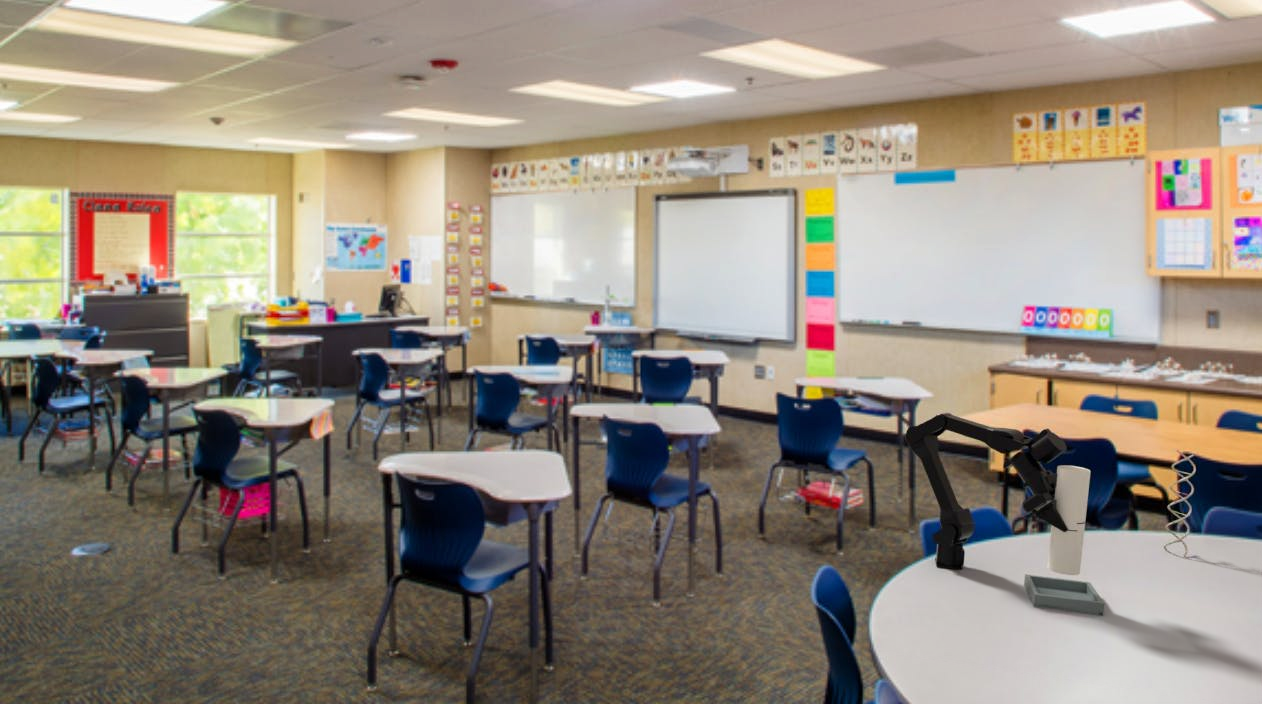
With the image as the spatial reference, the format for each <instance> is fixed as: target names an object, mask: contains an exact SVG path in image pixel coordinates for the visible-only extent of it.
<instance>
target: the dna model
mask: <svg viewBox="0 0 1262 704" xmlns="http://www.w3.org/2000/svg"><path fill="white" fill-rule="evenodd" d="M1176 452H1177V453H1179V454H1180V455H1181V456H1182V457H1183V459H1180V460H1178V461H1176V462H1173V463H1172V464H1171V469H1172V471H1174V472H1175V473H1176V474H1177V476H1180V477H1181V479H1179V480H1177V481H1175V482H1172V483H1171V484H1170V485H1169V490H1170V491H1171V492H1173V493H1174V494H1175V496H1177V497H1179V498H1180V499H1178V500H1174V501H1173V502H1171V503H1169V504H1168V505H1167V509H1168V511H1169V512H1171V513H1172V514H1173V515H1174V516H1176V517H1177V518H1178V519H1176V520H1172V522H1168V523H1167V524H1166V525H1165V529H1166V530H1167V531H1168V532H1169V533H1170V534H1171V535H1172V536H1174V537H1175V538H1176V540H1172V541H1170V542H1168V543H1164V545H1163V549H1164V550H1165V551H1166V550H1167V551H1168V548H1167V547H1168V546H1170V545H1172V544H1176V543H1180V542H1181V543H1182V545H1183V547H1184V550H1185V551H1184V554H1183V555H1182V556H1183V557H1186V555H1188V546H1187V543H1186V542H1184V541H1183V540H1184V539H1185V538H1187V537H1188V535H1189V534H1190V532H1191V531H1190V526H1189V524H1188V522H1187V521H1185V520H1186V518H1188V517H1190V515H1191V514H1192V512H1193V511H1192V510H1193V509H1192V507H1193V506H1192V505H1191V503H1189V502H1188V500H1187V499H1189V497H1192V495H1193V494H1194V492H1195V488H1194V485H1193V484H1192V483H1191V481H1189V479H1190V478H1191V477H1193V476H1194V475H1195V474H1196V471H1197V469H1196V468H1197V467H1196V464H1194V462H1193V461H1192V460H1191V458H1193V457H1194V456H1195V454H1194V453H1193V454H1191V455H1189V456H1186V455H1185V454H1184V453H1182V452H1181V451H1179V450H1178V449H1177V450H1176ZM1185 461H1186V462H1187V461H1188V462H1189V463H1190V464H1191V466H1192V467H1193V471H1192V472H1191V473H1189V472H1185V471H1181V470H1178V469H1176V468H1175V466H1176V465H1178V464H1180V463H1182V462H1185ZM1182 474H1186V476H1184V475H1182ZM1182 482H1186V483H1188V484H1189V485H1190V487H1191V492H1190V493H1189V494H1188V493H1185V492H1182V495H1185V496H1184V497H1183V496H1182V495H1180V494H1181V492H1180V491H1177V490H1175V489H1173V486H1174V485H1176V484H1178V483H1179V484H1180V483H1182ZM1180 502H1184V503H1186V504H1187V505H1188V507H1189V511H1188V513H1187V514H1186V513H1185V514H1184V513H1180V512H1178V511H1176V510H1173V509H1171V506H1173V505H1176V504H1178V503H1180ZM1178 514H1179V515H1178ZM1180 515H1183V517H1182V516H1180ZM1179 522H1182V523H1183V524H1184V525H1185V526H1186V528H1187V529H1186V533H1185V535H1183V534H1181V533H1177V532H1175V531H1173V530H1170V528H1169V526H1171V525H1174V524H1176V523H1179ZM1178 535H1179V536H1181V537H1179V536H1178Z"/></svg>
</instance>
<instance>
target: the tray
mask: <svg viewBox="0 0 1262 704" xmlns="http://www.w3.org/2000/svg"><path fill="white" fill-rule="evenodd" d="M1023 586H1024V589H1025V591H1026V593H1027V596H1028V595H1029V596H1028V598H1029V600H1030V602H1031V604H1032V606H1033V608H1041V609H1049V610H1054V611H1064V612H1070V613H1076V614H1077V613H1080V614H1086V615H1087V614H1088V615H1093V616H1100V617H1101V616H1102V617H1104V615H1105V614H1104V613H1105V602H1104V601H1103V599H1102V598H1101V596H1100V595H1099V593H1098V592H1097V590H1096V589H1095V588H1094V586H1093V584H1092V583H1091V582H1089V581H1082V580H1075V579H1066V578H1059V577H1058V578H1057V577H1052V576H1051V577H1050V576H1042V575H1035V574H1034V575H1033V574H1028V573H1027V574H1026V573H1025V574H1024V581H1023Z"/></svg>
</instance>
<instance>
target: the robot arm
mask: <svg viewBox="0 0 1262 704" xmlns="http://www.w3.org/2000/svg"><path fill="white" fill-rule="evenodd" d="M946 431H948V432H953V433H956V434H958V435H961V436H965V437H967V438H971V439H974V440H976V441H980V442H982V443H983V444H985V445H987V446H988V447H989V448H990V449H992V450H994V451H996V452H997V453H999V454H1003V455H1006V454H1011V453H1015V454H1014V455H1012V456H1006V457H1005V456H1004V462H1003V468H1004V469H1009V468H1012V467H1013V469H1014V470H1015V472H1016V473H1017V474H1018V475H1019V477H1020V478H1021V480H1022V482H1023V483H1022V484H1021V485H1022V486H1023V488H1024V489H1025V488H1026V489H1027V488H1028V489H1029V491H1030V493H1032V495H1031V496H1030V497H1029V498H1027V499H1026V500H1024V501H1022V506H1021V507H1022V509H1023V510H1024V512H1025V513H1026V515H1028V514H1032V515H1033V516H1036V517H1038V518H1039V519H1041V520H1042V521H1045V522H1046V523H1048V524H1050V525H1053V526H1055V527H1056V528H1058V529H1060V530H1061V531H1063V532H1066V531H1068V528H1067V526H1066V524H1065V523H1064V521H1063V519H1062V518H1061V516H1060V514H1059V513H1058V511H1057V509H1056V505H1057V500H1054V496H1055V487H1056V485H1057V475H1058V474H1057V473H1053V471H1052V470H1050V469H1047V470H1046V468H1044V467H1043V465H1042V464H1041V463H1043V464H1049V463H1050V462H1053V460H1054V459H1056V458H1057V457H1059V456H1061V455H1062V454H1063V453H1064V452H1066V451H1067V450H1068V449H1067V445H1066V443H1065V441H1064V440H1063V439H1062V438H1061V437H1059V435H1057V434H1056V433H1054V432H1052V431H1051V430H1050V429H1049V428H1045V429H1043V430H1041V431H1040V432H1039V434H1037V435H1036V436H1035V437H1033V438H1032V437H1029V436H1026V435H1024V434H1023V432H1022V431H1020V430H1019V429H1015V428H1006V427H993V426H988V425H985V424H982V423H980V422H979V423H978V422H976V421H973V420H970V419H967V418H963V417H960V416H957V415H953V414H951V413H950V412H944V413H938V414H936V415H935V416H934V417H931V419H927V420H926V421H924V422H921V423H920V424H918V425H913V426H910V427H908V428H907V430H906V433H905V434H904V438H905V441H906V443H907V445H908V446H909V448H910V450H911V451H912V452H913V454H914V455H915V456H916V457H918V458H919V460H920V461H921V464H922V467H923V469H924V472H925V474H926V477H927V479H928V481H929V484H930V488H931V489H932V492H933V494H934V497H935V500H936V502H937V504H938V507H939V510H940V513H939V524H940V527H941V529H939V530H938V531H936V532H935V533H933V534H932V535H931V537H932V541H933V543H934V544H936V553H935V554H936V556H935V558H934V560H935V561H934V562H935V566H936V567H937V568H938V567H939V568H944V569H953V570H960V571H961V570H963V566H965V565H964V563H965V552H966V551H965V548H964V545H963V544H964V543H967V541H968V539H969V538H970V537H971V536H973V534H974V531H976V530H975V523H976V521H975V520H974V519H973V516H972V513H971V510H970V508H969V507H967V508H963V507H962V506H961V505H960V504H959V502H958V500H957V497H956V495H955V491H953V490H954V489H953V488H952V485H951V482H950V480H949V478H948V475H947V473H946V470H945V468H944V465H943V463H942V461H941V458H940V455H939V448H940V447H939V444H940V443H939V437H940V436H941V435H942V434H944V432H946ZM1024 449H1027V450H1025V451H1022V450H1024ZM1035 510H1036V511H1035Z"/></svg>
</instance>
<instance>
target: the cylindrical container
mask: <svg viewBox="0 0 1262 704" xmlns="http://www.w3.org/2000/svg"><path fill="white" fill-rule="evenodd" d="M1056 474H1058V475H1057V485H1056V487H1055V496H1054V500H1057V505H1056V509H1057V511H1058V513H1059V514H1060V516H1061V518H1062V519H1063V521H1064V523H1065V524H1066V526H1067V528H1068V531H1066V532H1063V531H1061V530H1060V529H1058V528H1056V527H1055V526H1053V525H1051V524H1050V525H1051V529H1050V537H1049V538H1050V539H1049V546H1048V548H1049V549H1048V557H1047V566H1046V567H1047V569H1048V570H1050V571H1051V572H1054V573H1057V574H1060V575H1064V576H1065V575H1066V576H1078V575H1079V574H1081V568H1082V567H1081V566H1082V556H1083V547H1084V536H1085V530H1086V529H1085V528H1086V518H1087V510H1088V509H1087V508H1088V501H1089V499H1088V498H1089V489H1090V483H1091V481H1090V480H1091V470H1090V469H1088V468H1085V467H1081V466H1076V465H1066V464H1065V465H1063V464H1062V465H1057V466H1056Z"/></svg>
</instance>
